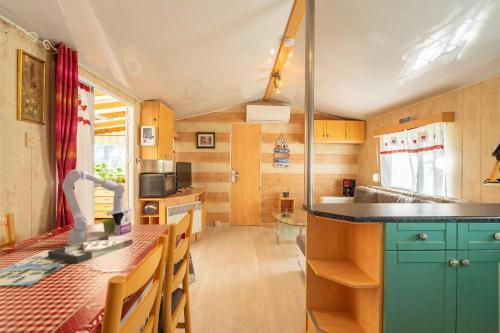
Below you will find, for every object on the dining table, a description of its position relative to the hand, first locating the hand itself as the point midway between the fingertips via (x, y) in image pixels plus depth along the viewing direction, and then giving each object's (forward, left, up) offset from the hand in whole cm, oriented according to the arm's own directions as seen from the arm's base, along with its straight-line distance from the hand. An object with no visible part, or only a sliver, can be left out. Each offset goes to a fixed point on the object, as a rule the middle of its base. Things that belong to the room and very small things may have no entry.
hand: (117, 225), depth 166 cm
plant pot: (-20, +12, -10) cm, 25 cm away
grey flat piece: (+5, -16, -9) cm, 19 cm away
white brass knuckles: (+5, -17, -10) cm, 20 cm away
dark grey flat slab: (+5, -33, -9) cm, 35 cm away
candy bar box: (-10, +14, -10) cm, 20 cm away
